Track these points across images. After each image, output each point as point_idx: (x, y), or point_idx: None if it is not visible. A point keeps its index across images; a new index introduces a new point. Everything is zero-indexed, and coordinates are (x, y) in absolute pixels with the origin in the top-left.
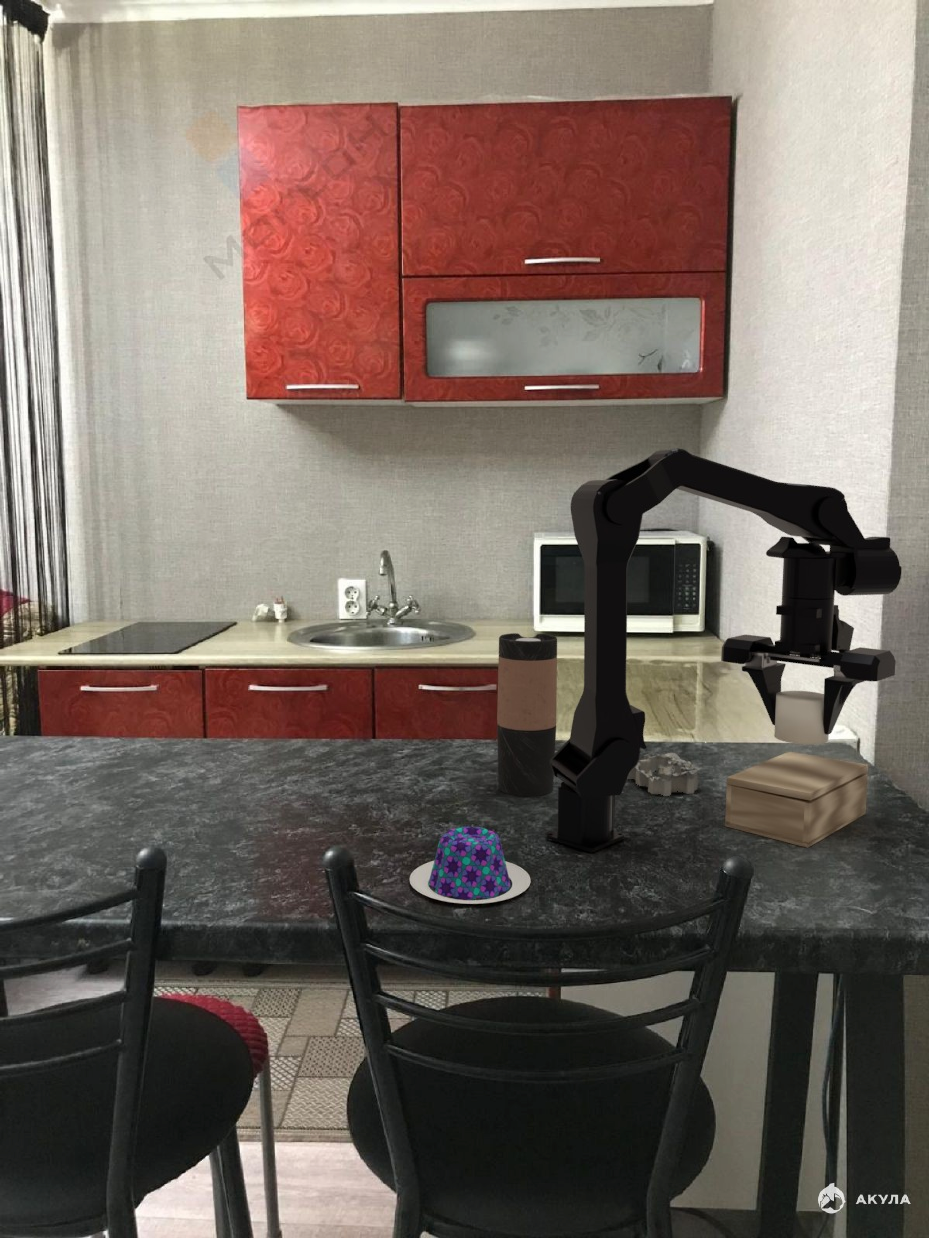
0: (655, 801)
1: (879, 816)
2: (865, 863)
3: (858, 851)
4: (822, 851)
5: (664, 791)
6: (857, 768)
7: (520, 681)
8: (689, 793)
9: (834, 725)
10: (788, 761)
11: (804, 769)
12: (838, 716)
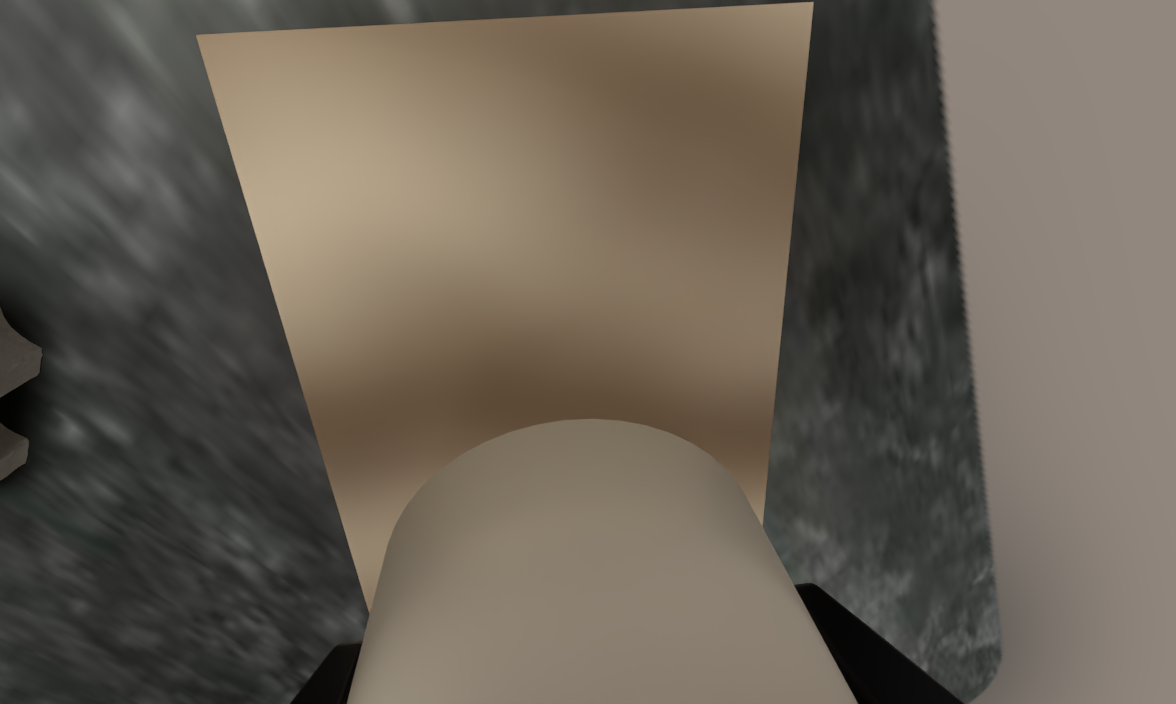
0: (76, 528)
1: None
2: (851, 489)
3: (812, 430)
4: None
5: (9, 473)
6: (784, 161)
7: None
8: (39, 367)
9: (861, 623)
10: (393, 304)
11: (558, 390)
12: (940, 685)
